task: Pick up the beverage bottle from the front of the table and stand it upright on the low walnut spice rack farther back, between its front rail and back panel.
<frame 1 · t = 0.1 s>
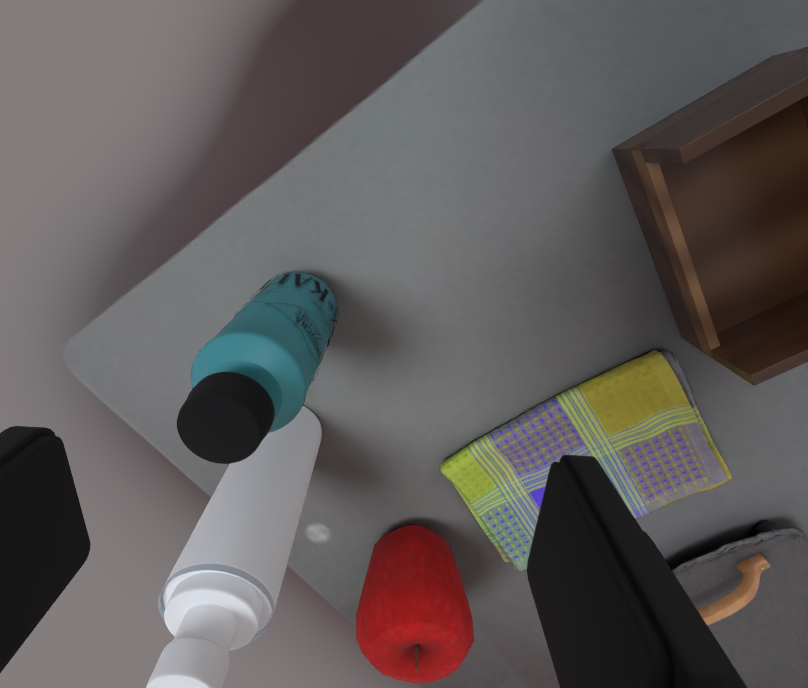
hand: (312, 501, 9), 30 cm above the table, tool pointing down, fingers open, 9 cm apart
serving tray: (743, 630, 57), on the table
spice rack: (721, 213, 36), on the table
spray bottle: (288, 429, 44), on the table
apple: (412, 542, 50), on the table
dish towel: (578, 460, 46), on the table
beverage bottle: (304, 299, 39), on the table
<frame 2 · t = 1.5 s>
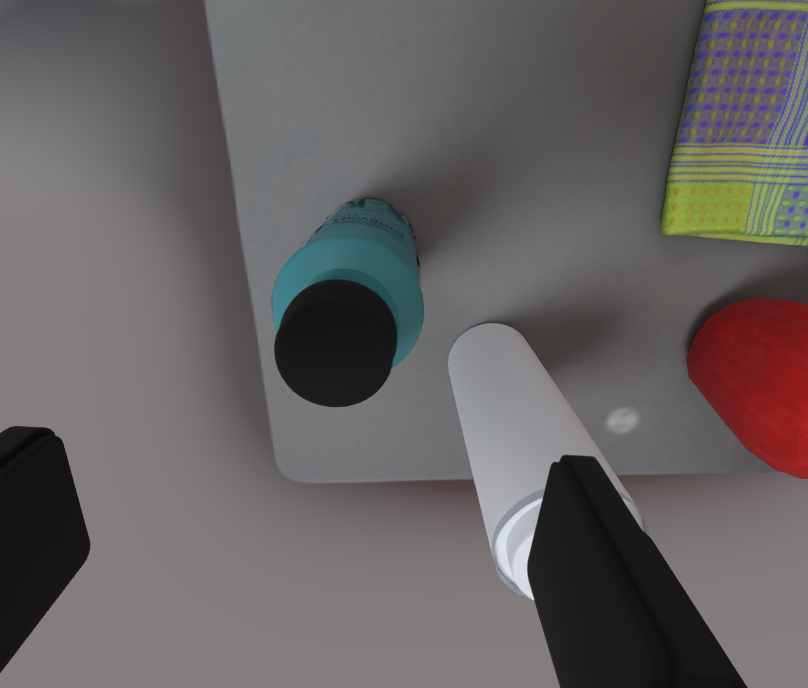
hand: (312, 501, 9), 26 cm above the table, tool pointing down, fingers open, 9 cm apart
spray bottle: (488, 359, 37), on the table
apple: (726, 338, 37), on the table
beverage bottle: (369, 240, 33), on the table
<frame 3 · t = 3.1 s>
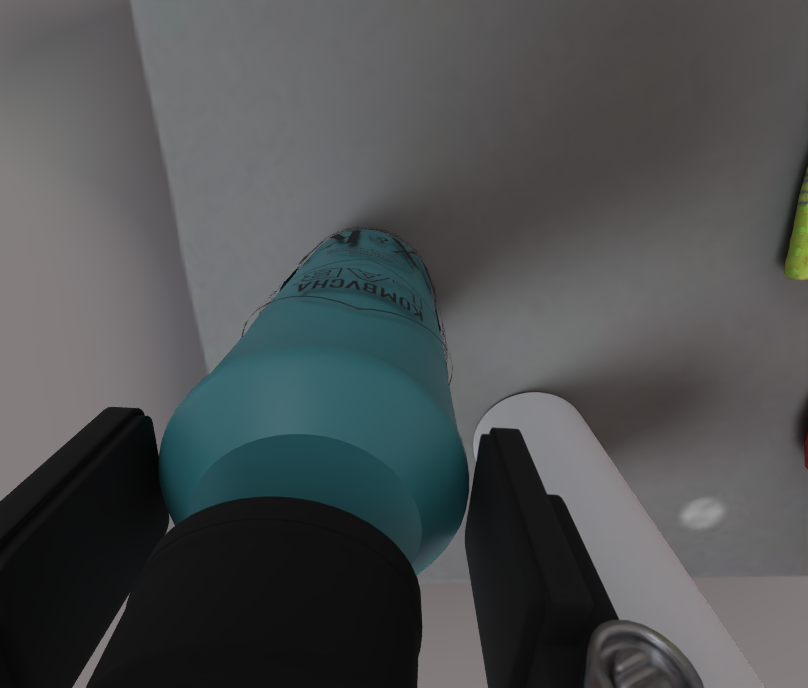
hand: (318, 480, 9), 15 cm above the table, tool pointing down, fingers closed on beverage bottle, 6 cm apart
spray bottle: (527, 437, 27), on the table
beverage bottle: (367, 282, 24), on the table, touching gripper
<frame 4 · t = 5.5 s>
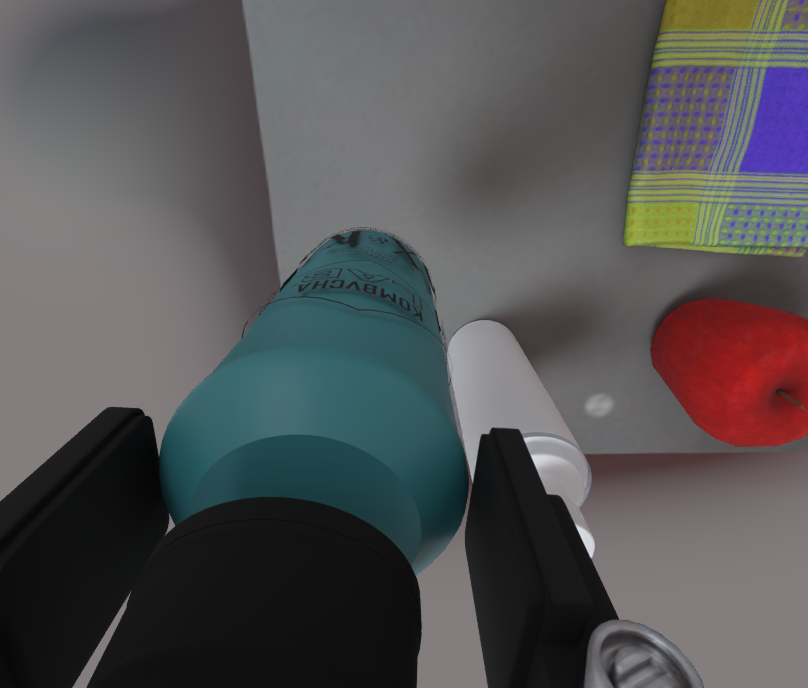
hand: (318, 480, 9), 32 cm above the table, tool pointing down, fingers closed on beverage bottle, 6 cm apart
spray bottle: (481, 351, 43), on the table
apple: (687, 333, 43), on the table
dish towel: (752, 91, 35), on the table
beverage bottle: (367, 282, 24), point 17 cm above the table, touching gripper
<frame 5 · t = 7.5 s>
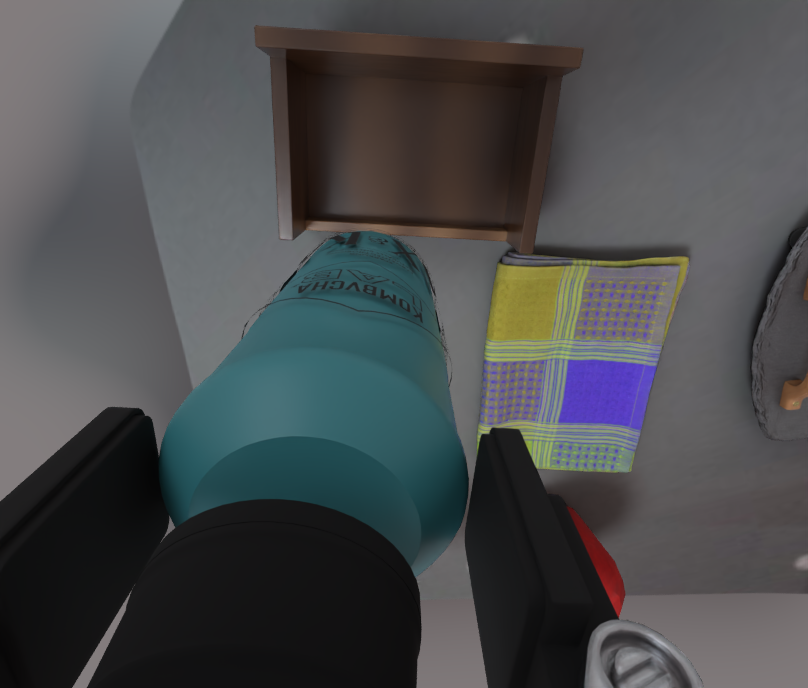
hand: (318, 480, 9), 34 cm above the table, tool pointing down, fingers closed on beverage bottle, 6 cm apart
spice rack: (410, 153, 38), on the table
apple: (540, 517, 54), on the table
dish towel: (565, 366, 46), on the table
beverage bottle: (367, 283, 24), point 18 cm above the table, touching gripper
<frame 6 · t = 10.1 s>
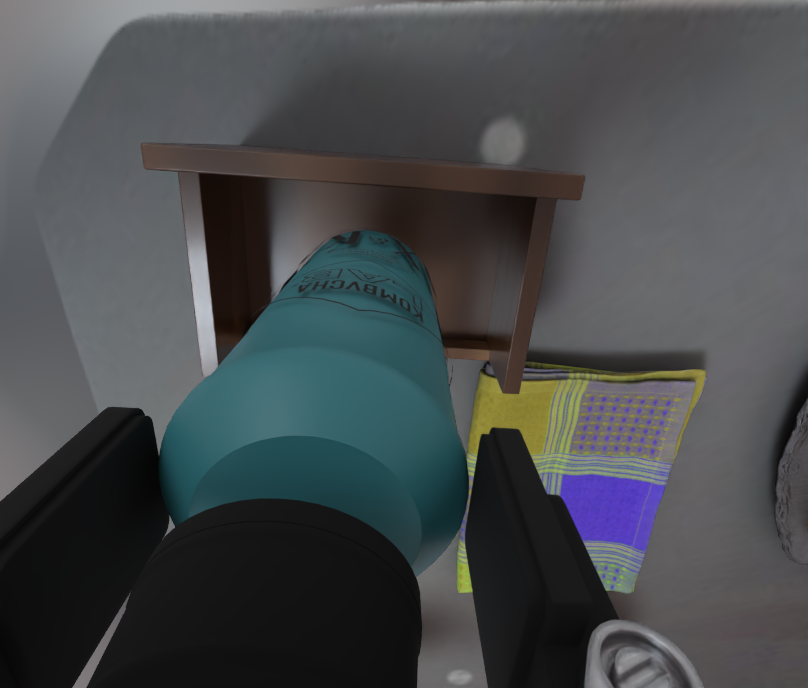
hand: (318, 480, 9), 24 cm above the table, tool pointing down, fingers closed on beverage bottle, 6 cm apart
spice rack: (375, 248, 32), on the table
dish towel: (559, 477, 40), on the table
beverage bottle: (367, 283, 24), point 9 cm above the table, touching gripper
when the fingers open (18 cm above the table, at t = 12.1 s): beverage bottle stays where it is, resting on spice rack.
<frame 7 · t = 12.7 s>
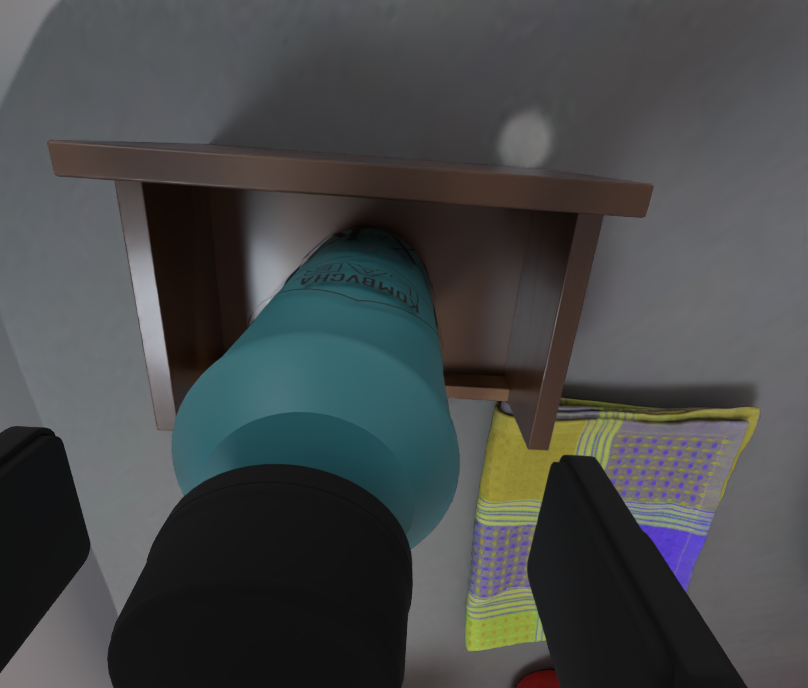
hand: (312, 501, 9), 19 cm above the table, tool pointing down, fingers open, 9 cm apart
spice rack: (372, 266, 27), on the table
apple: (545, 684, 43), on the table
dish towel: (582, 522, 35), on the table
beverage bottle: (367, 279, 24), point 3 cm above the table, touching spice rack
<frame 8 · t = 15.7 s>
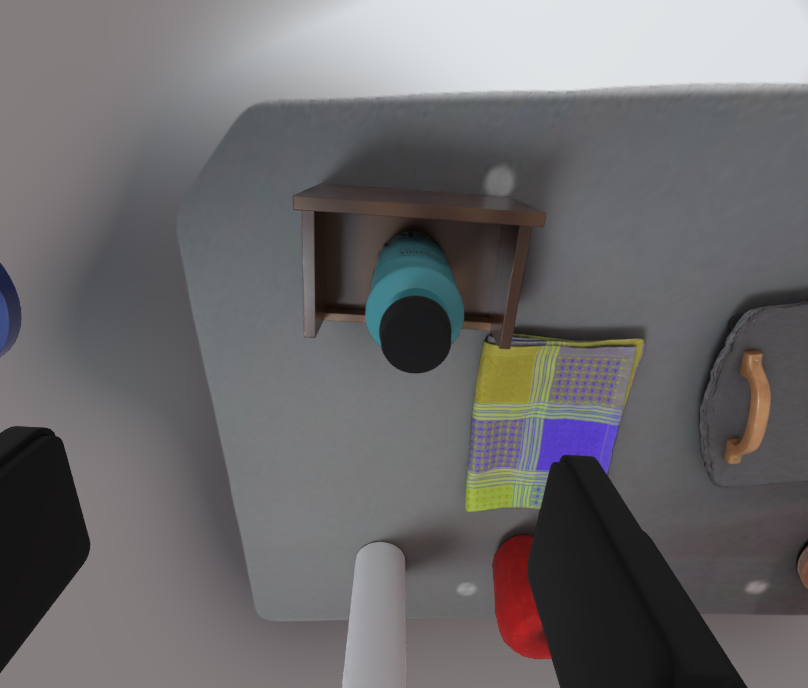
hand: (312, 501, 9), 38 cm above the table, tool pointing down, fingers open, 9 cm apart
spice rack: (410, 253, 45), on the table
spray bottle: (380, 558, 62), on the table
apple: (521, 548, 61), on the table
dish towel: (542, 422, 54), on the table
beverage bottle: (410, 259, 43), point 3 cm above the table, touching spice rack
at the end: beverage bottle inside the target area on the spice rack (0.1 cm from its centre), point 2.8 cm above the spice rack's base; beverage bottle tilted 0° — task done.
